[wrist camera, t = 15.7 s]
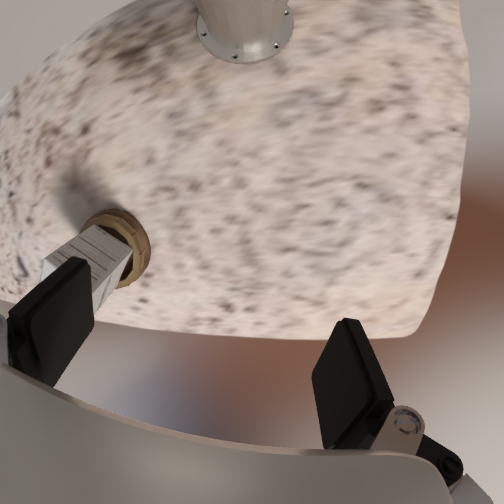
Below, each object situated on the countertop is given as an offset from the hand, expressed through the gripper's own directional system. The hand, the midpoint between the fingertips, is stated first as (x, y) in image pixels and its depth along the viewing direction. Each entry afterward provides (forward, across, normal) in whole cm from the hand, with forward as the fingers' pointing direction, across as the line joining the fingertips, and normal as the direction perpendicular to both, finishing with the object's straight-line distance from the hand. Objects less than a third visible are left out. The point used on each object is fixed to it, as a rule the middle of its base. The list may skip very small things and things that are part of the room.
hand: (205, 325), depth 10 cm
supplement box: (+27, +18, +14) cm, 35 cm away
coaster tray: (+30, +18, +14) cm, 38 cm away
